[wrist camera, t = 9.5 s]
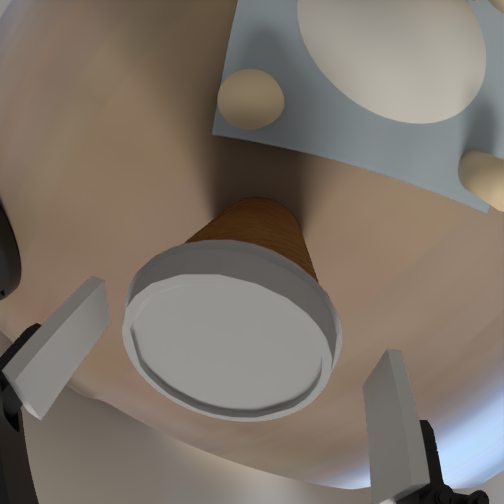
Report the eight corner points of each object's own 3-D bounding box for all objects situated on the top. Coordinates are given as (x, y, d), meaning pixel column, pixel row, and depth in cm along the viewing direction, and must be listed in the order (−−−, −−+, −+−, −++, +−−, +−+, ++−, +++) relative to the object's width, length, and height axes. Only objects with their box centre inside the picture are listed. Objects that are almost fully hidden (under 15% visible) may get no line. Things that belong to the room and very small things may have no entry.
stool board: (218, 132, 19) (190, 141, 14) (269, -94, 9) (260, -133, 4) (477, 207, 18) (516, 236, 13) (509, -5, 8) (545, -17, 4)
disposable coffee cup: (237, 147, 19) (160, 201, 8) (351, 227, 20) (395, 351, 10) (174, 251, 23) (94, 359, 13) (274, 313, 24) (255, 442, 14)
